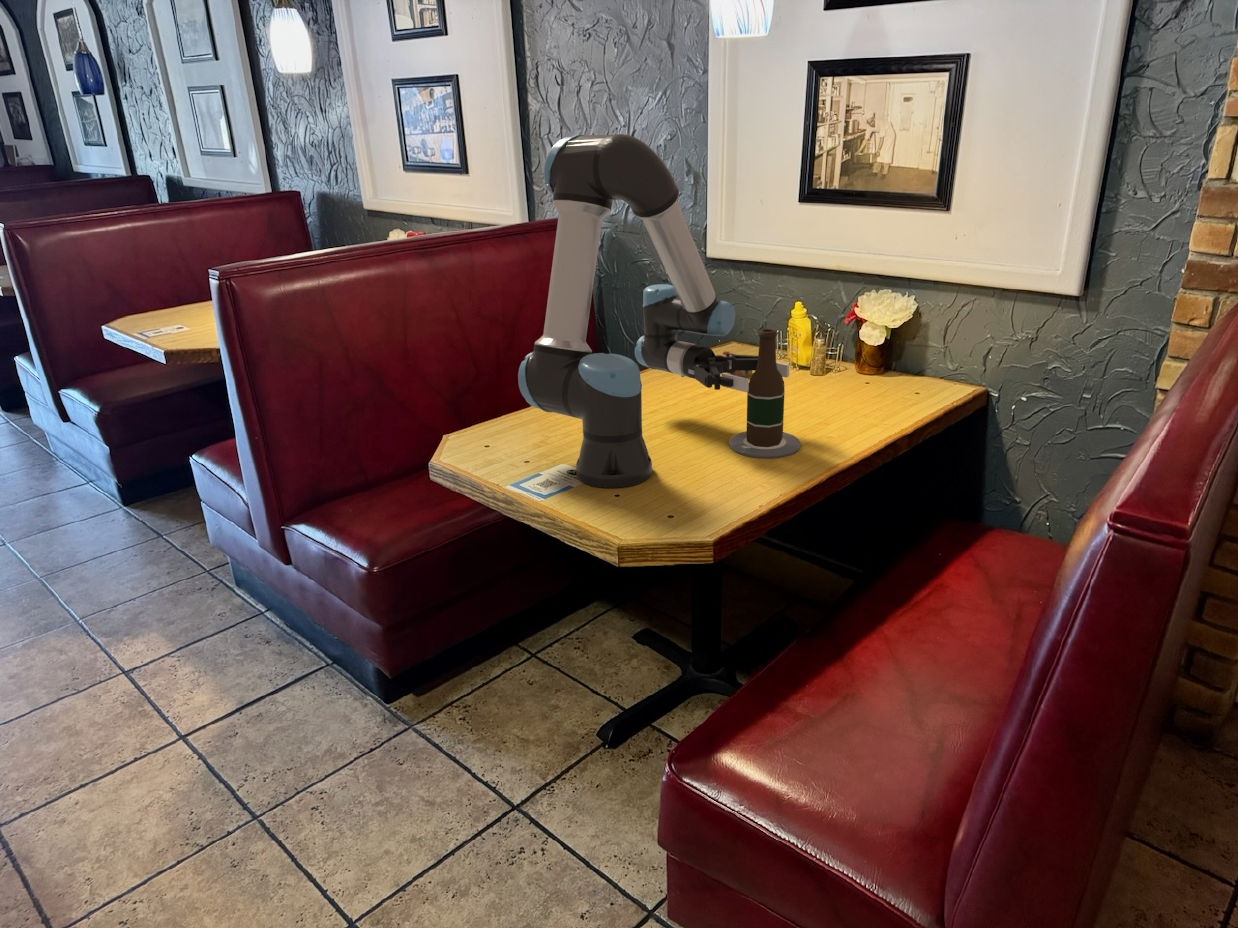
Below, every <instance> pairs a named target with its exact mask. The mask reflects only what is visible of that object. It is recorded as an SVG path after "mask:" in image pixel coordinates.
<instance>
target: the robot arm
mask: <svg viewBox="0 0 1238 928" xmlns="http://www.w3.org/2000/svg"><path fill="white" fill-rule="evenodd" d="M543 178H544V182H546V188H547V190H548V191H549V193H550V194H551V195H552V206H553V207H554V208H555V209H556V211H557V213H558V218H557V226H556V234H555V241H554V248H553V249H554V250H553V256H552V257H553V258H552V263H551V264H552V266H551V273H550V280H549V287H548V296H547V304H546V311H545V320H544V327H543V334H542V335H541V336H540V338H538V339H537V340H535V342H534V345H533V351H532V352H530V353H528V354H527V355H525V356H524V360H522V361H521V363H520V365H519V367H518V373H517V377H518V378H517V380H518V382H517V383H518V388H519V392H520V393H521V396H522V397H523V398H524V399H525V401H526V402H527V404H529V406H531V407H534V408H536V409H540V410H542V411H543V412H546V413H555V414H559V415H562V416H568V417H571V418H576V419H580V420H582V438H583V439H582V442H581V446H580V452H579V455H578V456H579V457H578V459H577V460H576V464H575V467H576V469H575V470H576V477H577V479H578V480H579V481H581V482H582V483H584V484H586V485H588V486H592V487H598V488H604V489H606V488H607V489H608V488H610V489H611V488H612V489H615V488H617V489H618V488H625V487H630V486H634V485H635V486H636V485H638V484H641V483H643V482H645V481H647V480H648V479H649V478H650V477H651V476H652V474H653V461H652V458H651V456H650V455H649V451H648V446H647V445H646V442H645V440H644V436H643V415H642V413H643V410H642V407H643V406H642V401H643V400H642V389H643V383H642V380H641V379H642V378H641V369H640V368H639V365H638V363H639V364H641V366H644V367H647V368H649V369H651V370H657V371H662V372H666V373H671V374H674V375H679V376H680V377H681V378H685V377H687V378H690V379H695V380H696V381H697V382H698V383H700V384H702V385H703V386H705V388H708V389H711V388H713V389H714V390H716V391H718V390H719V391H720V390H721V387H723V388H727V389H732V390H736V391H740V392H744V393H747V392H748V391H749V381H750V378H747V377H740V376H737V375H734V374H732V373H734V372H735V371H752V372H753V371H754V372H755V370H756V368H757V363H758V355H749V354H736V353H732V354H730V353H728V354H726V356H722V355H720V354H719V355H717V354H715V353H714V351H713V349H712V347H709V346H706V345H701V344H695V343H691V342H686V341H680V340H677V338H678V331H679V332H686V333H692V334H698V335H699V334H700V335H705V336H710V337H711V336H715V337H725V336H727V335H729V334H730V332H731V331H732V329H733V327H734V325H735V320H736V311H735V307H734V305H733V304H731V303H730V302H729V301H725V300H719V298H718V296H717V294H716V291H715V290H714V287H713V285H712V282H711V280H710V276H709V275H708V272H707V270H706V267H705V264H704V262H703V261H702V257H701V255H700V252H699V250H698V248H697V246H696V243H695V240H694V238H693V235H692V234H691V231H690V229H689V226H688V225H687V222H686V219H685V217H684V214H683V212H682V210H681V207H680V205H679V203H678V200H679V198H680V191H679V188H678V186H677V184H676V181H675V179H674V176H673V175H672V173H671V172H670V170H669V169H668V167H667V165H666V164H665V162H664V161H663V160H662V158H661V157H660V156H659V155H658V154H657V153H656V152H655V151H654V150H653V149H652V148H651V147H650V146H649V145H648V144H646V143H645V142H644V141H642V140H641V139H639V138H638V137H635V136H632V135H630V134H623V133H620V134H619V133H618V134H617V133H616V134H578V135H577V134H576V135H573V136H566V137H562V138H561V139H559V140H558V141H557V142H555V143H554V144H553V146H551V148H550V149H549V151H548V154H547V156H546V158H545V161H544V167H543ZM614 200H615V201H616V200H620V201H623V202H624V203H626V204H627V205H629V207H630V209H631V211H632V214H633V215H634V216H635V217H636V218H639V219H641V220H642V222H643V224H644V227H645V229H646V231H647V233H648V235H649V237H650V239H651V241H652V243H653V246H654V248H655V250H656V252H657V254H658V256H659V259H660V260H661V263H662V265H663V267H664V269H665V271H666V273H667V275H668V278H669V281H670V282H671V284H672V285H671V284H664V283H663V284H662V283H661V284H660V283H659V284H652V285H648V286H647V287H645V288H644V289H643V294H642V295H643V297H642V298H643V299H642V300H643V301H642V302H643V303H642V309H643V310H642V312H643V313H642V314H643V332H644V334H643V335H642V336H640V337H639V338H638V340H637V341H636V346H635V348H634V356H635V358H636V359H635V360H636V361H637V362H638V363H636V362H635V361H634V360H633V359H631V358H629V357H627V356H625V355H621V354H616V353H604V352H598V353H597V352H596V353H592V352H593V350H592V349H591V347H590V346H589V344H588V343H587V341H586V340H587V334H588V326H589V319H590V312H591V311H590V310H591V305H592V297H593V290H594V281H595V274H596V268H597V267H596V266H597V260H598V253H599V245H600V238H601V232H602V225H603V220H604V219H605V218H606V217H607V216H608V215H610V214H611V213H612V207H613V201H614ZM776 364H777V369H778V371H779V372H780V374H781V375H782V378H786V379H787V378H789V377H790V363H789V364H788V363H784V362H779V361H776ZM729 366H731V369H729ZM713 386H714V387H713Z"/></svg>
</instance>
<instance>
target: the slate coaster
mask: <svg viewBox="0 0 1238 928" xmlns="http://www.w3.org/2000/svg"><path fill="white" fill-rule="evenodd" d="M728 441H729V442H728V443H729V444H728V446H729V449H730V450H731V451H733V452H735V453H736V454H739V455H742V456H745V457H749V458H756V459H778V458H784V457H788V456H792V455H794V454H796V453H797V452H799V450H800V449H801V440H800V439H799V438H798V437H797V436H795V435H794V434H790V433H788V432H784V431H783V436H782V440H781V442H780V444H779V445H776V446H772V447H759V446H754V445H752V444H750V443H748V442H747V430H746V431H742V432H739V433H736V434H734V435H732V436H731V437H730V438H729V440H728Z"/></svg>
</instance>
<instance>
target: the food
mask: <svg viewBox="0 0 1238 928" xmlns="http://www.w3.org/2000/svg"><path fill="white" fill-rule="evenodd" d="M728 353H730V354H733V353H732V351H729V350H727V351H723V352H722V353H720V354H719V355H722V356H726V354H728ZM729 369H731V366H729ZM752 372H753V371H735V372H734V373H731V375H735V376H740V377H744V378H747V377H749V376H751V374H753V373H752Z"/></svg>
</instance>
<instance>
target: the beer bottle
mask: <svg viewBox="0 0 1238 928" xmlns="http://www.w3.org/2000/svg"><path fill="white" fill-rule="evenodd" d="M777 335H778V333H777V331H776V330H775V329H772V328H767V329H766V328H764V329H761V330H759V333H758V335H757V336H758V338H759V341H758V342H759V344H758V353H757V354H758V355H757V356H758V363H757V368H756V370H755V371H754V372H753V373H752V375H750V378H749V391H748V392H746V393H747V395H746V396H747V397H746V400H747V401H746V431H747V442H748V443H750V444H752V445H754V446H759V447H772V446H776V445H779V444H780V442H781V440H782V436H783V432H784V414H785V413H784V410H785V381H784V379H783V378H784V377H782V375H781V374H780V372H779V371H778V369H777V364H776V362H777V355H776V354H777V350H776V349H777V348H776V345H777V344H776V337H777Z"/></svg>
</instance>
